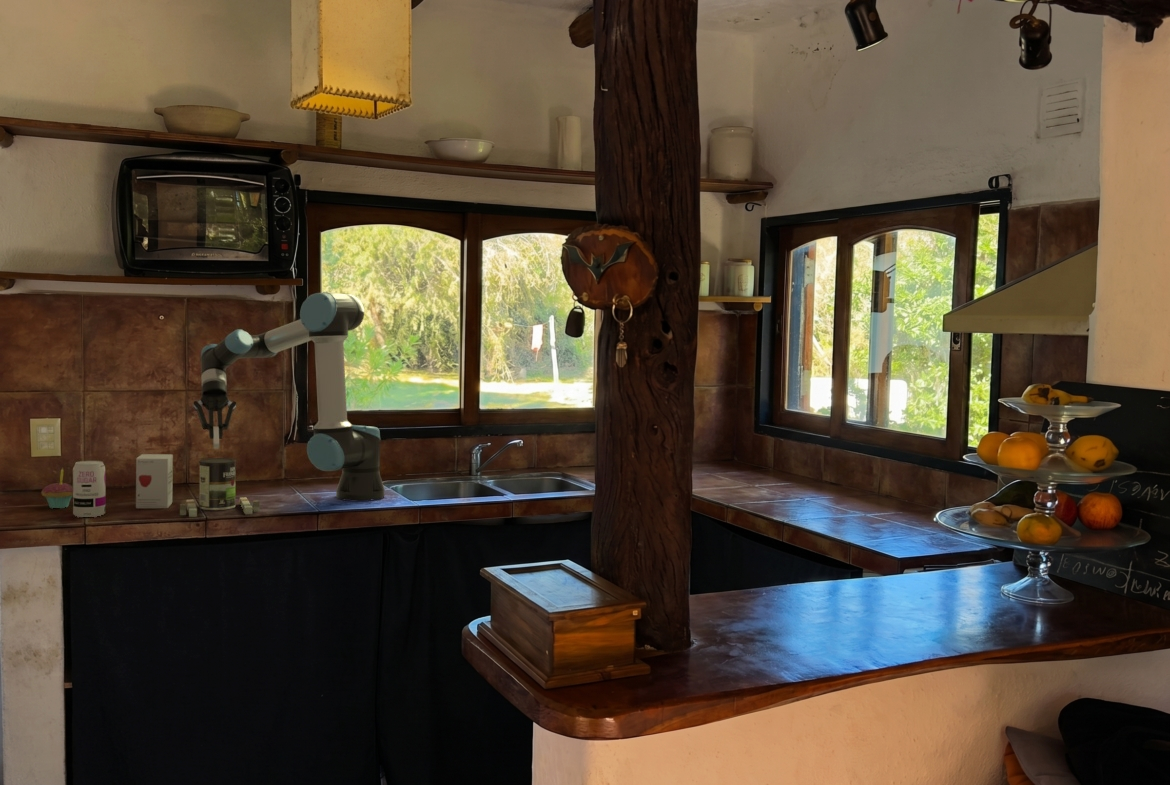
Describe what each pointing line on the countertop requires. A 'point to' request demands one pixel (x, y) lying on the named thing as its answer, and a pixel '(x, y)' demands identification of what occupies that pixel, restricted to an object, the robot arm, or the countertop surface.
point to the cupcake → (58, 493)
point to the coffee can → (217, 483)
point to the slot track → (243, 502)
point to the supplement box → (154, 480)
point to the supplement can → (89, 489)
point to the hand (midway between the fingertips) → (216, 446)
